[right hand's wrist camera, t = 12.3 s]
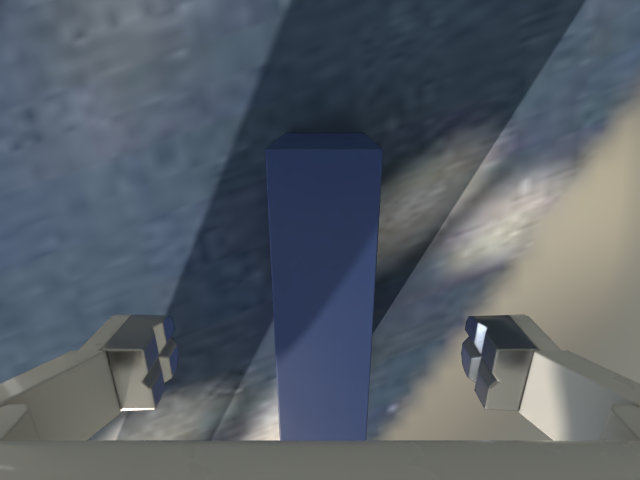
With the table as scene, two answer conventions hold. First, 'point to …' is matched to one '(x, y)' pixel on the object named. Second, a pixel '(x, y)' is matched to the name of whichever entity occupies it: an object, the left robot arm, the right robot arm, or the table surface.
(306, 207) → the box
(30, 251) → the table surface
